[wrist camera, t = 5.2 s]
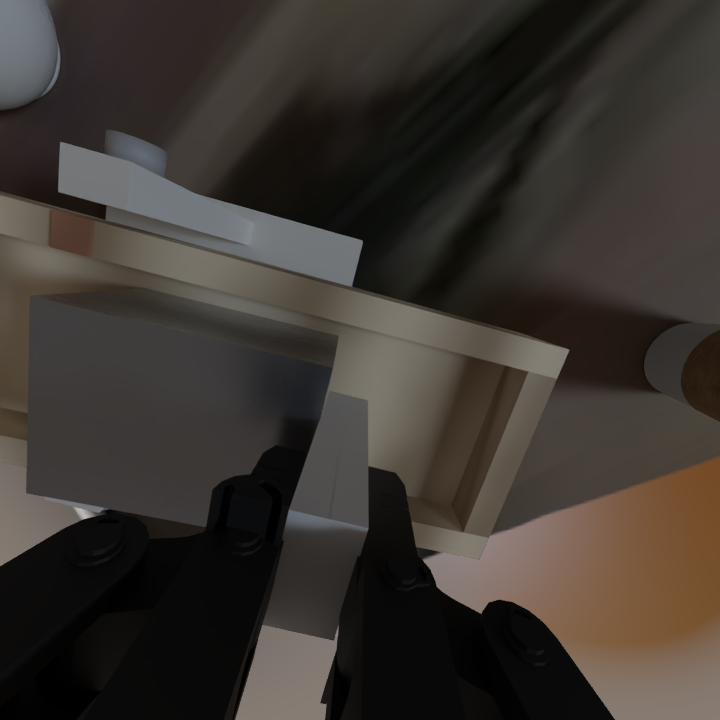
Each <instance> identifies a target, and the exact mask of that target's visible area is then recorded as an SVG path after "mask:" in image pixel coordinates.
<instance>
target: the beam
mask: <svg viewBox="0 0 720 720" xmlns="http://www.w3.org/2000/svg"><path fill="white" fill-rule="evenodd" d="M139 288H147V289H151V290H155V291H159V292H163V293H167V294H172V295H176V296H180V297H184V298H188V299H192V300H196V301H200V302H204V303H208V304H212V305H216V306H220V307H224V308H228V309H232V310H236V311H240V312H244V313H248V314H252V315H256V316H261V317H265V318H269V319H273V320H277V321H281V322H285V323H289V324H293V325H297V326H301V327H305V328H309V329H313V330H317V331H321V332H325V333H329V334H333V335H337V336H339V339H338V344H337V349H336V355H335V360H334V365H333V370H332V374H331V378H330V382H329V386H328V390H327V394H326V399H325V403H326V400H327V397H328V394H329V391H333V392H337V393H341V394H345V395H349V396H353V397H357V398H361V399H365V400H368V466H370V467H374V468H378V469H383V470H387V471H391V472H395V473H396V474H397V475H398V476H399V478H400V479H401V481H402V482H403V483H404V485H405V489H406V494H407V501H408V505H409V512H410V516H411V522H412V527H413V533H414V538H415V544H416V547H420V548H425V549H430V550H435V551H440V552H445V553H450V554H454V555H459V556H464V557H469V558H474V559H480V557H481V555H482V553H483V550H484V548H485V546H486V543H487V541H488V539H489V536H490V534H491V532H492V529H493V527H494V525H495V522H496V520H497V518H498V515H499V513H500V511H501V508H502V506H503V504H504V501H505V499H506V497H507V494H508V492H509V490H510V487H511V485H512V483H513V480H514V478H515V476H516V473H517V471H518V469H519V466H520V464H521V462H522V459H523V457H524V455H525V452H526V450H527V448H528V446H529V443H530V441H531V439H532V436H533V434H534V432H535V429H536V427H537V425H538V422H539V420H540V418H541V415H542V413H543V411H544V408H545V406H546V404H547V401H548V399H549V397H550V394H551V392H552V390H553V387H554V385H555V383H556V380H557V378H558V376H559V373H560V371H561V369H562V366H563V364H564V362H565V359H566V357H567V355H568V352H569V349H566V348H563V347H560V346H557V345H554V344H551V343H548V342H546V341H543V340H540V339H537V338H534V337H531V336H528V335H525V334H522V333H519V332H515V331H512V330H508V329H504V328H501V327H497V326H493V325H490V324H486V323H482V322H479V321H475V320H471V319H468V318H464V317H460V316H457V315H453V314H449V313H446V312H442V311H438V310H435V309H431V308H427V307H424V306H420V305H416V304H413V303H409V302H405V301H402V300H398V299H394V298H391V297H387V296H383V295H380V294H376V293H372V292H368V291H365V290H361V289H357V288H354V287H350V286H346V285H343V284H339V283H335V282H332V281H328V280H324V279H321V278H317V277H313V276H310V275H306V274H302V273H299V272H295V271H291V270H288V269H284V268H280V267H277V266H273V265H269V264H266V263H262V262H258V261H255V260H251V259H247V258H244V257H240V256H236V255H233V254H229V253H225V252H222V251H218V250H214V249H211V248H207V247H203V246H200V245H196V244H192V243H188V242H185V241H181V240H177V239H174V238H170V237H166V236H163V235H159V234H155V233H152V232H148V231H144V230H141V229H137V228H133V227H130V226H126V225H122V224H119V223H115V222H111V221H108V220H104V219H100V218H97V217H93V216H89V215H86V214H82V213H78V212H75V211H71V210H67V209H64V208H60V207H56V206H53V205H49V204H45V203H42V202H38V201H34V200H31V199H27V198H23V197H20V196H16V195H12V194H8V193H5V192H1V191H0V462H2V463H8V464H12V465H17V466H23V467H27V426H28V367H29V308H30V296H33V295H48V294H63V293H78V292H94V291H109V290H124V289H139ZM325 403H324V406H325ZM323 409H324V407H323ZM322 412H323V411H322Z"/></svg>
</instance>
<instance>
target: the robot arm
mask: <svg viewBox="0 0 720 720" xmlns="http://www.w3.org/2000/svg"><path fill="white" fill-rule="evenodd" d="M262 625H266V626H271V627H275V628H280V629H284V630H289V631H293V632H298V633H303V634H307V635H311V636H316V637H320V638H325V639H329V640H334V638H335V635H336V632H337V629H338V641H337V650H336V653H335V657H334V660H333V663H332V666H331V669H330V672H329V676H328V679H327V682H326V685H325V688H324V692H323V695H322V699H321V703H323V704H326V703H327V708H326V718H325V720H615V719H614V718H613V716H612V715H611V713H610V712H609V711H608V709H607V708H606V707H605V705H604V704H603V702H602V701H601V699H600V698H599V697H598V695H597V694H596V692H595V691H594V689H593V688H592V687H591V685H590V684H589V683H588V681H587V680H586V678H585V677H584V676H583V674H582V673H581V671H580V670H579V668H578V667H577V666H576V664H575V663H574V661H573V660H572V659H571V657H570V656H569V654H568V653H567V652H566V650H565V649H564V647H563V646H562V645H561V643H560V642H559V641H558V639H557V638H556V637H555V636H554V634H553V633H552V632H551V631H550V630H549V628H548V627H547V626H546V625H545V624H544V623H543V622H542V621H541V620H540V619H538V618H537V617H536V616H535V615H533V614H532V613H531V612H530V611H528V610H527V609H525V608H522V607H521V606H519V605H517V604H515V603H513V602H508V601H503V600H496V601H493V602H489V603H488V605H487V606H486V608H485V609H484V610H483V612H482V614H480V613H478V612H476V611H475V610H473V609H471V608H469V607H467V606H465V605H463V604H461V603H459V602H458V601H456V600H454V599H452V598H451V597H449V596H448V595H446V594H445V593H443V592H442V591H441V590H440V589H438V588H437V587H436V582H435V580H434V577H433V575H432V573H431V570H430V569H429V568H428V566H427V565H426V564H425V563H424V561H423V560H422V559H421V558H420V557H418V555H417V549H416V544H415V538H414V533H413V527H412V522H411V516H410V512H409V505H408V501H407V494H406V489H405V485H404V483H403V482H402V481H401V479H400V478H399V476H398V475H397V474H396V473H395V472H391V471H387V470H383V469H378V468H374V467H370V466H368V400H365V399H361V398H357V397H353V396H349V395H345V394H341V393H337V392H333V391H329V394H328V397H327V400H326V403H325V406H324V409H323V412H322V415H321V419H320V420H319V423H318V426H317V429H316V432H315V435H314V438H313V441H312V444H311V447H310V450H309V453H307V452H303V451H299V450H295V449H290V448H286V447H282V446H278V445H275V446H274V447H272V448H270V449H269V450H267V451H265V452H263V454H262V456H261V457H260V459H259V461H258V462H257V464H256V466H255V467H254V469H253V471H252V472H251V474H247V475H239V476H233V477H231V478H228V479H226V480H223V481H221V482H220V483H219V484H218V485H217V486H216V487H215V488H213V489H212V495H211V501H210V507H209V513H208V519H207V524H206V530H205V531H204V532H202V533H199V534H196V535H192V536H188V537H179V538H160V539H149V535H148V531H147V528H146V526H145V525H144V524H143V523H142V522H140V521H139V520H138V519H137V518H134V517H130V516H126V515H122V514H114V515H100V516H96V517H92V518H87V519H83V520H81V521H79V522H77V523H75V524H73V525H70V526H68V527H66V528H64V529H62V530H61V531H59V532H57V533H56V534H54V535H52V536H51V537H49V538H47V539H45V540H44V541H42V542H40V543H39V544H37V545H35V546H34V547H32V548H31V549H29V550H27V551H25V552H24V553H22V554H20V555H19V556H17V557H15V558H14V559H12V560H10V561H9V562H7V563H5V564H4V565H2V566H0V720H235V718H236V714H237V711H238V708H239V705H240V701H241V698H242V695H243V691H244V688H245V685H246V681H247V678H248V675H249V671H250V668H251V665H252V661H253V658H254V654H255V649H256V646H257V641H258V637H259V633H260V631H261V627H262ZM338 625H339V628H338Z"/></svg>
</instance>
